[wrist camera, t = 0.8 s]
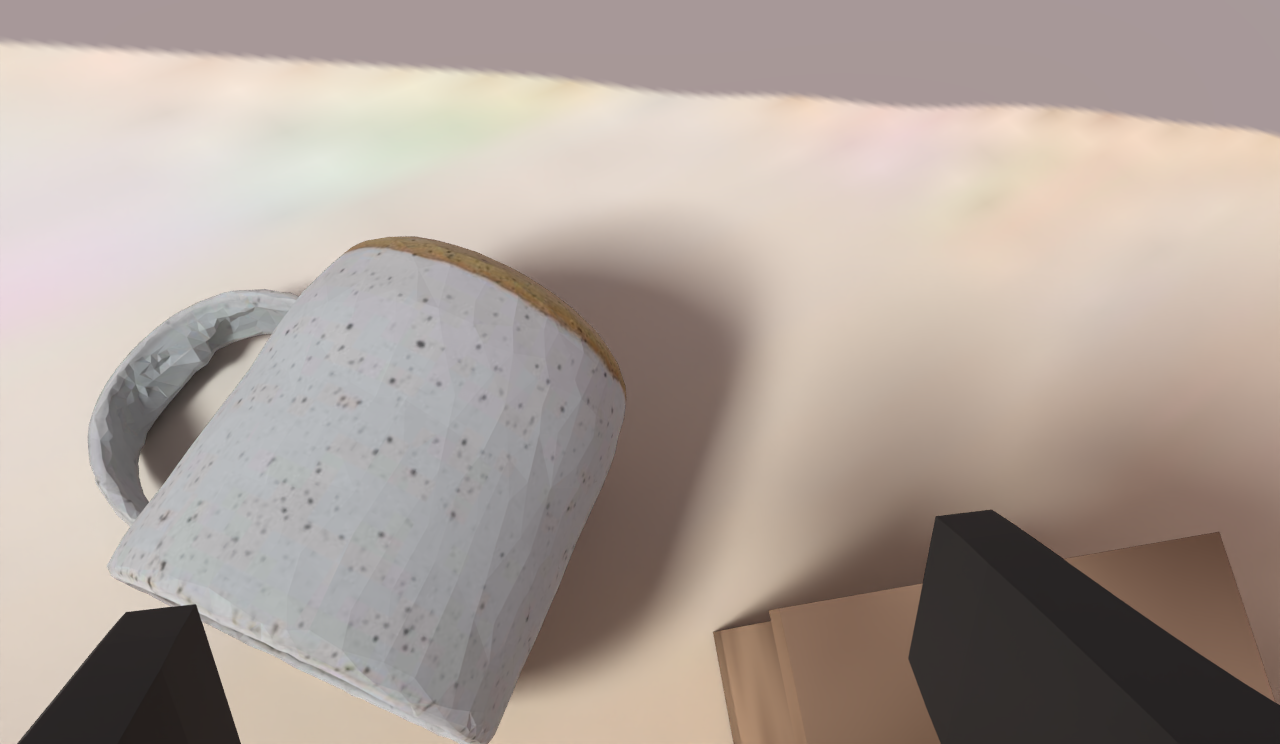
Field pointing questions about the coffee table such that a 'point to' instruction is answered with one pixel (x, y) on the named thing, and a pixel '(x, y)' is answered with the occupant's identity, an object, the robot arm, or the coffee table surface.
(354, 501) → the ceramic mug
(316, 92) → the coffee table surface
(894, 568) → the coffee table surface
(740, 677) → the keepsake box
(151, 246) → the coffee table surface
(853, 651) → the lid
